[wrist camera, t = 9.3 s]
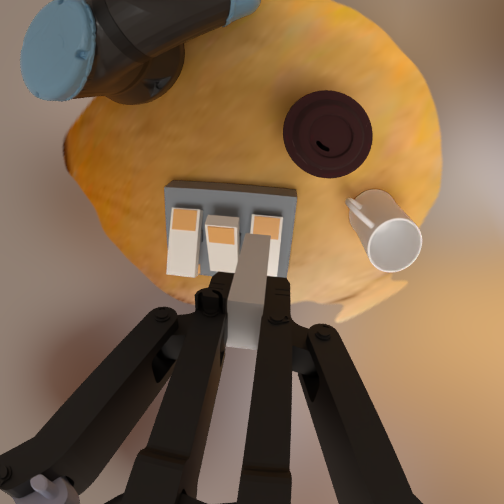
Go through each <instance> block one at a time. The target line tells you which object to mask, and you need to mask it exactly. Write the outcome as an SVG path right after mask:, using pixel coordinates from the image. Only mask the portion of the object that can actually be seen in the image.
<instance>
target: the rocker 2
mask: <svg viewBox="0 0 504 504" xmlns="http://www.w3.org/2000/svg"><path fill="white" fill-rule="evenodd" d="M205 231H206V240H207V248H208V256H209V264H210V271H217V272H218V271H220V272H229V273H235V270H236V266H237V263H238V259H239V255H240V254H239V217H229V216H217V215H208V216H207V219H206V222H205Z"/></svg>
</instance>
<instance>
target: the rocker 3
mask: <svg viewBox="0 0 504 504" xmlns="http://www.w3.org/2000/svg"><path fill="white" fill-rule="evenodd" d="M282 223H283V217H277V216H267V215H257V214H252V219H251V230H250V234H260V235H270V236H271V240H270V250H269V260H268V270H267V276H274V277H277V272H278V262H279V253H280V243H281V233H282Z"/></svg>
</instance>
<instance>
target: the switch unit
mask: <svg viewBox="0 0 504 504" xmlns="http://www.w3.org/2000/svg"><path fill="white" fill-rule="evenodd" d="M164 192H165V214H166V231H167V246H168V245H169V233H170V221H171V211H172V208H186V209H199V210H203V217H202V228H201V239H200V251H199V263H198V275H207V276H213V275H215V274H216V273H217V271H210V264H209V256H208V248H207V240H206V231H205V222H206V219H207V216H208V215H217V216H229V217H239V254H240V252H241V248H242V244H243V241H244V237H245V234H246V233H250V230H251V219H252V214H257V215H267V216H277V217H283V223H282V233H281V243H280V253H279V262H278V272H277V277H284V278H287V272H288V264H289V257H290V250H291V242H292V235H293V227H294V219H295V211H296V203H297V193H296V190H295V189H285V188H275V187H265V186H253V185H241V184H228V183H213V182H196V181H176V180H173V181H171V182H170V183H169V184H168V185H166V186H165V187H164Z"/></svg>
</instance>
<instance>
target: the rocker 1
mask: <svg viewBox="0 0 504 504" xmlns="http://www.w3.org/2000/svg"><path fill="white" fill-rule="evenodd" d="M202 217H203V210H199V209H186V208H172V211H171V221H170V233H169V245H168V259H167V274H169V275H177V276H185V277H194V278H195V277H196V276H198V263H199V251H200V239H201V228H202Z"/></svg>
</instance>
